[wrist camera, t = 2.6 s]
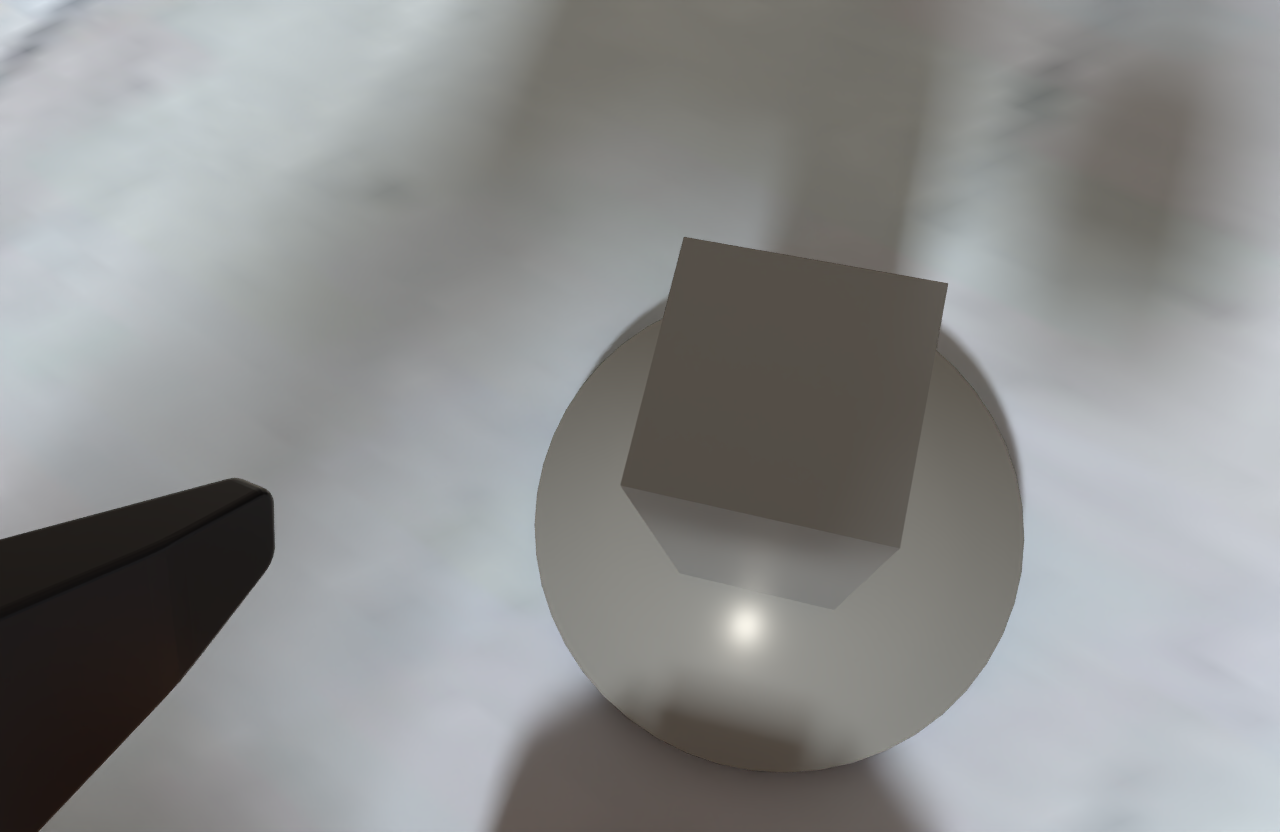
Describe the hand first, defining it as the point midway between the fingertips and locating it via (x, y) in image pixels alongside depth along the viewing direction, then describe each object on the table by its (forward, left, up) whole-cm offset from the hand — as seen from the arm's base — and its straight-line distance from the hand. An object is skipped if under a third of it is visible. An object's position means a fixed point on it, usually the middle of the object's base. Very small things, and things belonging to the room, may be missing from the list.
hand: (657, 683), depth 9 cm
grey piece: (+1, +4, -13) cm, 14 cm away
